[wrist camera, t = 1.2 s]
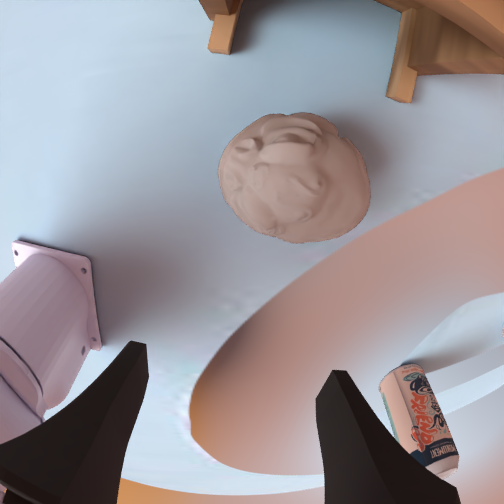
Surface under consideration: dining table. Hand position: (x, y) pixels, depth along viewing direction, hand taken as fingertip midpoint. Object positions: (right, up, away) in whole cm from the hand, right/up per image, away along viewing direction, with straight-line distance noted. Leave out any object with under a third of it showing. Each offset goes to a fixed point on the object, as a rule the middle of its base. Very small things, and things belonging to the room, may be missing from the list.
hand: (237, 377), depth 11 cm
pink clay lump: (+3, +10, +6) cm, 12 cm away
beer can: (+15, -7, +15) cm, 22 cm away
